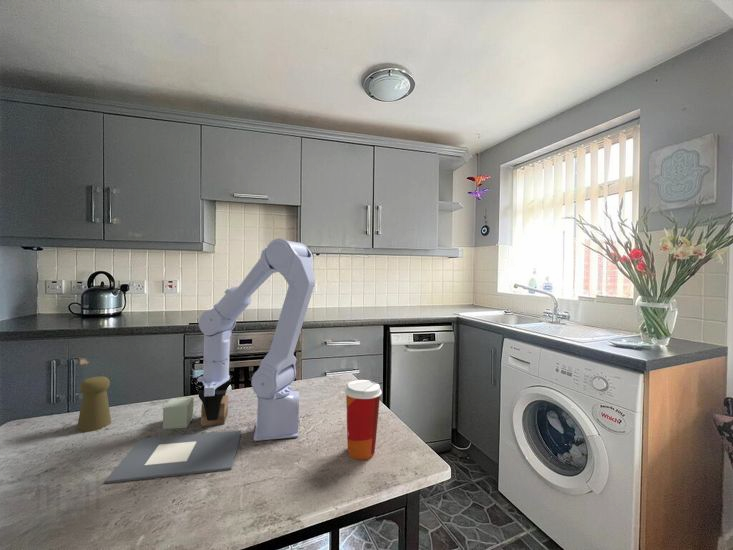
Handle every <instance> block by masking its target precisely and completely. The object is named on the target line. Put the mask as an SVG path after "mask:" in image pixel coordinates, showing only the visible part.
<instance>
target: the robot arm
mask: <svg viewBox="0 0 733 550" xmlns="http://www.w3.org/2000/svg"><path fill="white" fill-rule="evenodd" d="M313 259H314V255H313V253H312V252H311V251H310V249H309V247H308V246H307V245H306V244H305V243H303V242H299V241H296V242H295V241H293V240H292V241H291V240H287V239H284V238H275V239H272V240H271V241H270V242H269V243H268V245H267V247H265V248H264V249H262V251H261V254H260V258H259V259H258V260H257V261H256V263H255V265H254V266H253V267H252V268H251V269H250V271H249V272H248V274H247V275H246V276H245V278H244V279H243V280H242V282H241V283H240V284H239V286H231V287H230V288H226V290H225V291H224V295H223V297H222V298H221V299H220V300H219V301H218V302H217V303H215V304H214V305H213V308H211V310H205V311H202V313H201V315H200V316H199V319H198V327H199V330H200V332H201V333H202V334H203V338H204V339H203V363H202V364H203V371H202V376H198V377H197V378H196V379H197V382H199V383H200V382H201V383H202V385H203V387H204V389H200V390H199V392H198V398H199V400H201V402H202V403H203V405H204V408H205V413H206V417H207V420H208V421H211V420H217V418H218V415H219V410H220V405H221V401H222V398H223V396H225V395H227V390H228V387H229V385H230V384H231V381H232V378H231V376H230V350H231V349H230V348H231V346H230V345H231V337H232V332H233V330H234V328H235V327H236V324H237V318H239V317H240V315H241V314H242V313H243V312H244V311H245V310H246V309H247V308H248V307H249V305H250V304H251V302H252V295H253V294H254V293H255V292H256V291H257V290H258V289H259V288H260V287H261V286H262V284H264V283H265V282H266V281H267V280H268V279H269V278H270V277H271V276H272V275H273V274H275V273H279V274H280V275H281V276H282V277H283V278H284V280H285V281H286V283H287V285H288V287H287V289H286V290H287V291H286V294H285V296H284V297H285V298H284V301H283V304H282V308H281V311H280V314H279V318H278V322H277V324H276V327H275V331H274V335H273V338H272V341H271V345H270V348H269V352H268V353H267V354H266V355H264V357H263V359H261V362H260V364H259V367H258V368H257V370H256V371H255V372H254V373H253V374H252V377H251V382H250V383H251V388H252V391H253V392H254V393H255V394H256V397H257V412H256V413H257V414H256V415H257V416H256V417H257V418H256V424H255V427H254V428H255V429H254V433H253V438H252V439H253V440H252V441H254V442H257V441H268V440H270V441H271V440H279V439H280V440H282V439H289V438H290V439H291V438H298V437H299V424H300V421H301V419H300V413H299V412H300V391H298V390H297V391H296V390H291V389H292V383H293V382H294V380H295V379H296V377H297V367H296V364H297V357H296V356H295V355H294V354H295V350H296V347H297V344H298V341H299V337H300V334H301V331H302V327H303V323H304V321H305V317H306V314H307V311H308V307H309V305H310V304H309V303H310V300H311V297H312V294H313V291H314V288H315V283H316V280H315V279H316V277H315V274H314V273H315V272H314V267H313Z"/></svg>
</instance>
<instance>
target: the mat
mask: <svg viewBox="0 0 733 550" xmlns="http://www.w3.org/2000/svg"><path fill="white" fill-rule="evenodd" d="M242 431H243V430H241V429H238V430H228V431H226V430H225V431H217V432H216V431H214V432H204V433H193V434H192V433H191V434H190V433H189V434H179V435H169V436H166V435H165V436H156V437H155V436H154V437H144V438H140V440H139V441H138V442H137V443H136V444H135V445H134V447H132V449H131V450H130V451H129V453H127V455H126V456H125V457H124V458H123V460H121V462H120V463H119V464H118V466H117V467H116V468H115V469H114V470H113V471H112V473H111V474H110V475H109V476H108V477H107V479H106V480H105V481H104V483H105V484H114V483H121V482H130V481H131V482H132V481H139V480H140V481H141V480H147V479H150V480H151V479H159V478H167V477H174V476H175V477H176V476H185V475H193V474H194V475H195V474H202V473H203V474H204V473H212V472H220V471H231V470H233V469H232V468H233V464H234V460H235V456H236V454H237V450H238V446H239V442H240V439H241V435H242Z"/></svg>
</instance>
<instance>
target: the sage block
mask: <svg viewBox="0 0 733 550" xmlns="http://www.w3.org/2000/svg"><path fill="white" fill-rule="evenodd" d="M194 401H195V400H194V397H185V398H181V397H180V398H171V399H169V400H168V402H166V404H165V405H164V406H163V408H162V412H163V413H162V430H167V429H181V428H187V427H189V425H190V423H191V422H190V421H192V420H193V418H194Z"/></svg>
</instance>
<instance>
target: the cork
mask: <svg viewBox="0 0 733 550" xmlns="http://www.w3.org/2000/svg"><path fill="white" fill-rule="evenodd" d="M110 385H111V381H110V379H109V378H108V377H106V376H101V375H100V376H94V377H93V376H92V377H89V378H88V377H87V378H86V379H85V380H83V381H82V382H81V384H80V387H79V391H80V393H81V394H82V399H81V405H80V410H79V414H78V419H77V426H76V431H77V430H78V431H77V432H80V433H88V432H89V433H90V432H95V431H99V430H102V429H104V428H106V427H107V425H108V426H109V425H110V424H111V423H112V418H111V411H110V404H109V398H108V392H107V390H109V388H110ZM103 427H104V428H103ZM101 428H102V429H101ZM98 429H99V430H98Z"/></svg>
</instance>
